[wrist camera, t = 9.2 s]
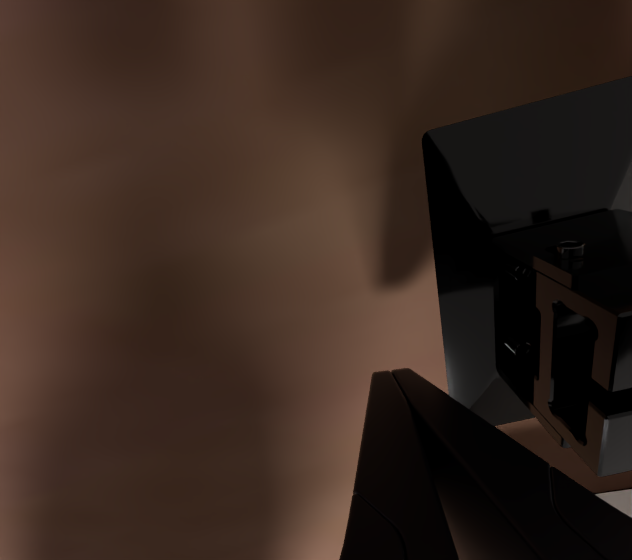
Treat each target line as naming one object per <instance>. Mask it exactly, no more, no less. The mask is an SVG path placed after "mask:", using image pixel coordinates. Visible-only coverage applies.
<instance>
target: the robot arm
mask: <svg viewBox="0 0 632 560" xmlns="http://www.w3.org/2000/svg"><path fill="white" fill-rule="evenodd" d="M339 560H632V518H631V517H630V516H628V515H626V514H625V513H623V512H621V511H620V510H618V509H617V508H615V507H613V506H612V505H610V504H609V503H607V502H606V501H604V500H603V499H601V498H600V497H598V496H596V495H595V494H593V493H592V492H590V491H589V490H587V489H586V488H584V487H583V486H581V485H580V484H578V483H577V482H575V481H574V480H572V479H571V478H569V477H568V476H566V475H565V474H563V473H562V472H561V471H559V470H558V469H556V468H555V467H551V468H550V465H549V464H548V463H547V462H546V461H544V460H543V459H541V458H540V457H538V456H537V455H535V454H534V453H533V452H531V451H530V450H528V449H527V448H525V447H524V446H522V445H521V444H519V443H518V442H516V441H515V440H513V439H512V438H511V437H509V436H508V435H506V434H505V433H503V432H502V431H500V430H499V429H497V428H496V427H494V426H493V425H492V424H490V423H489V422H487V421H486V420H484V419H483V418H481V417H480V416H478V415H477V414H475V413H474V412H473V411H471V410H470V409H468V408H467V407H465V406H464V405H462V404H461V403H459V402H458V401H456V400H455V399H454V398H452V397H451V396H449V395H448V394H446V393H445V392H443V391H442V390H440V389H439V388H437V387H436V386H434V385H433V384H432V383H430V382H429V381H427V380H426V379H424V378H423V377H421V376H420V375H418V374H417V373H415V372H414V371H413V370H411V369H409V368H403V369H396V370H392V371H391V372H390V371H380V372H374V373H373V374H372V379H371V385H370V391H369V397H368V403H367V410H366V416H365V422H364V428H363V434H362V441H361V447H360V453H359V459H358V465H357V472H356V478H355V484H354V490H353V496H352V501H351V507H350V513H349V519H348V524H347V529H346V534H345V539H344V544H343V548H342V552H341V555H340V559H339Z"/></svg>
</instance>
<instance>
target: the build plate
mask: <svg viewBox="0 0 632 560" xmlns="http://www.w3.org/2000/svg"><path fill="white" fill-rule="evenodd" d="M422 147H423V157H424V166H425V175H426V185H427V194H428V203H429V213H430V222H431V231H432V241H433V250H434V260H435V269H436V278H437V288H438V297H439V306H440V316H441V325H442V334H443V344H444V353H445V362H446V372H447V381H448V391H449V396H451V397H452V398H454V399H455V400H456V401H458V402H459V403H461V404H462V405H464V406H465V407H467V408H468V409H470V410H471V411H473V412H474V413H475V414H477V415H478V416H480V417H481V418H483V419H484V420H486V421H487V422H489V423H490V424H492V425H493V426H497V425H501V424H506V423H511V422H516V421H521V420H525V419H530V418H535V417H536V418H537V419H538V421H539V422H540V423H541V424H542V425H543V426H544V428H545V429H546V430H547V431H548V432H549V433H550V434H551V436H552V437H553V438H554V439H555V440H556V441H557V443H558V444H559V445H560V446H561V447H563V448H569V447H572V448H573V450H574V451H575V452H576V453H577V454H578V455H579V456H580V457H581V458H582V460H583V461H584V462H585V463H586V464H587V465H588V466H589V467H590V468H591V470H592V471H593V472H594V473H595V474H596V475H597V476H600V477H603V476H607V475H612V474H617V473H621V472H626V471H631V470H632V76H630V77H626V78H623V79H619V80H615V81H611V82H608V83H604V84H600V85H596V86H593V87H589V88H585V89H582V90H578V91H574V92H570V93H567V94H563V95H559V96H555V97H552V98H548V99H544V100H541V101H537V102H533V103H529V104H526V105H522V106H518V107H514V108H511V109H507V110H503V111H500V112H496V113H492V114H488V115H485V116H481V117H477V118H473V119H470V120H466V121H462V122H459V123H455V124H451V125H447V126H444V127H440V128H436V129H432V130H429V131H427V132H426V133H425V134H424V136H423V138H422Z"/></svg>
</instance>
